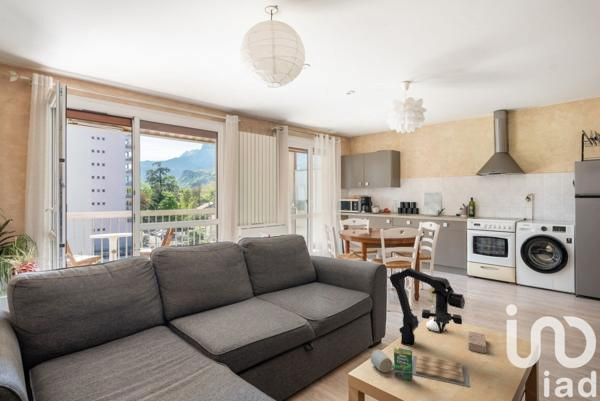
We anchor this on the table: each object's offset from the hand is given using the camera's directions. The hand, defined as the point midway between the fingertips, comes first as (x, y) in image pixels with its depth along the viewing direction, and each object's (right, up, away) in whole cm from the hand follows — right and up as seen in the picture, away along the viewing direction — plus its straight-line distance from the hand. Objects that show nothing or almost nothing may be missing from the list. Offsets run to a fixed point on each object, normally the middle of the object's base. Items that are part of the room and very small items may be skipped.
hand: (441, 332), depth 161 cm
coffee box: (-26, -13, -19) cm, 35 cm away
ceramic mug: (-33, -13, -11) cm, 37 cm away
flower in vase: (+10, -11, +31) cm, 34 cm away
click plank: (-6, -11, -11) cm, 17 cm away
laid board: (-9, -12, -17) cm, 23 cm away
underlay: (-7, -12, -13) cm, 20 cm away
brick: (+24, -12, +10) cm, 29 cm away
